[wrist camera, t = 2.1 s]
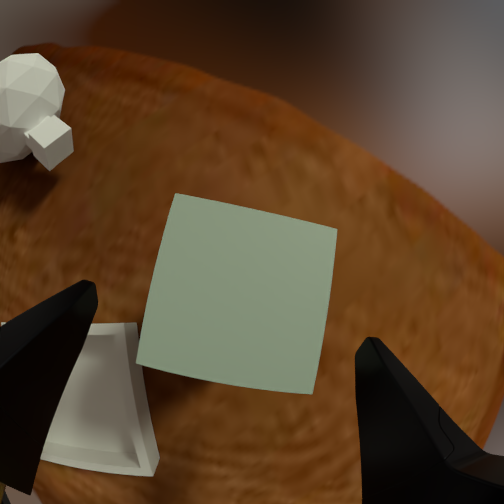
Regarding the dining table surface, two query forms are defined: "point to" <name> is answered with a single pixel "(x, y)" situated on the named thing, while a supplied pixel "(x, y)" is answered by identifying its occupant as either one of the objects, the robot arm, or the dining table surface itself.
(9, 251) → the dining table surface
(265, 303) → the block
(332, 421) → the dining table surface
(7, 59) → the perfume bottle
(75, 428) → the tray
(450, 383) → the dining table surface
